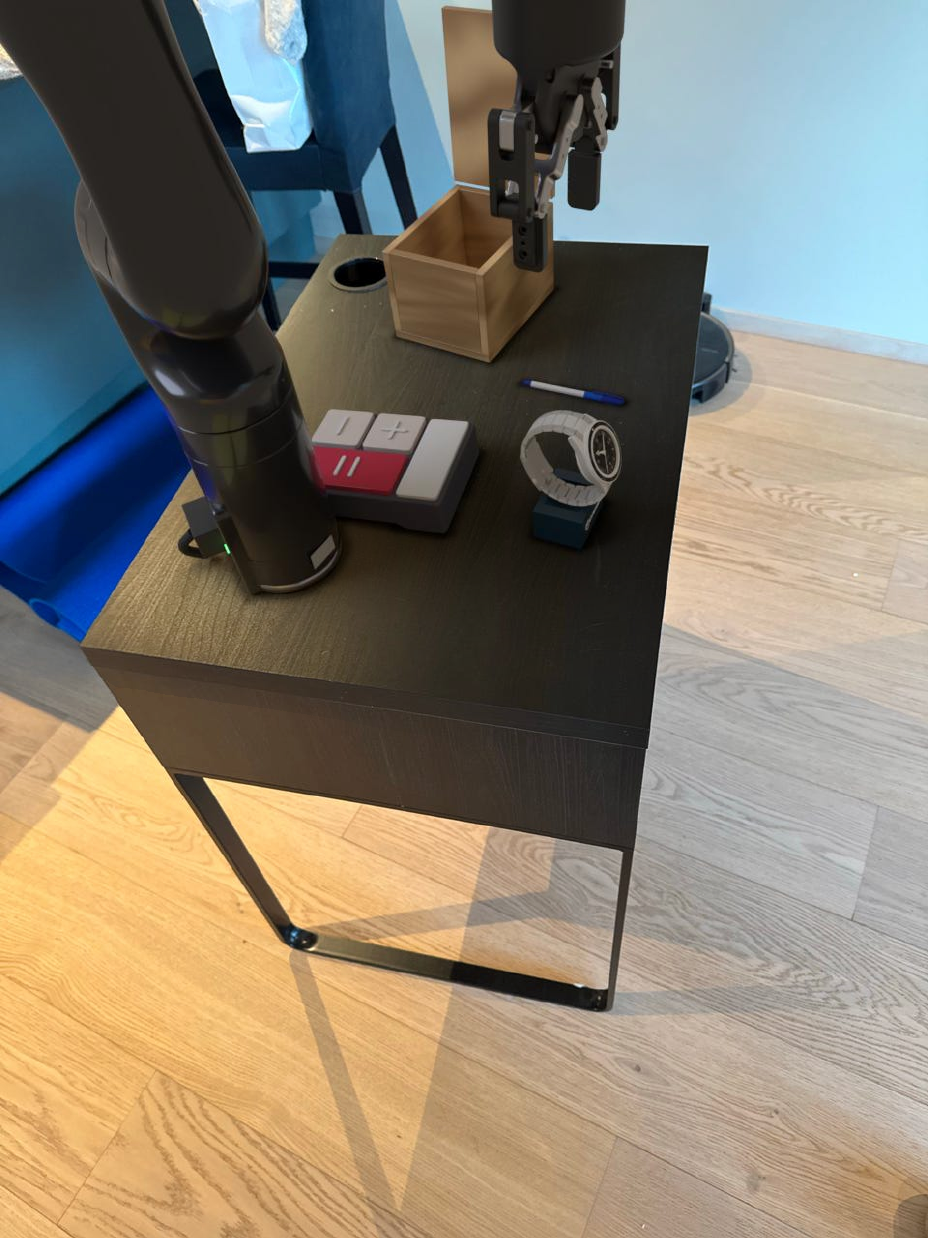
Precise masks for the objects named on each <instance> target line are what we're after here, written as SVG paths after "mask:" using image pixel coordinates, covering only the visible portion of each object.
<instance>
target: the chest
mask: <svg viewBox="0 0 928 1238" xmlns="http://www.w3.org/2000/svg"><path fill="white" fill-rule="evenodd" d="M546 213H547V214H548V264H547V266H546V267H545V268H544V269H543V270H542V271H541V272H539V273H537V272H532V271H527V270H522V269H519V268H517V267H516V266H515V264H514V260H513V236H512V220H510V219H505V218H497V217H493V216H491V213H490V191H489V189H486V188H485V189H484V188H481V187H480V188H479V187H474V186H469V185H463V184H458V183H456V184H455V185H453V186H452V187H451V188H450V190H448V191H447V192H446V193H445V194H443V195H442V197H440V198H439V199H438V200H437V201H436V202H435V203H434V204H433V205H432V206H431V207H429V208H428V209H427V210H426V211H425V212H424V213H422V214H421V216H419V217H418V218H417V219H416V220H415V221H414V222H413V223H411V224H410V225H409V226H408V227H406V229H405V230H404V231H403V232H402V233H400V234H399V235H398V236H397V237H396V238H395V239H394V240H392V242H390V243H389V244H388V245H387V246H386V247H385V248H383V250H382V251H381V253H382V254H381V255H382V260H383V267H384V271H385V278H386V284H387V290H388V295H389V300H390V306H391V311H392V317H393V324H394V328H395V335H396V337H397V338H400V339H403V340H407V341H411V342H414V343H417V344H422V345H424V346H429V347H432V348H435V349H440V350H443V351H447V352H450V353H454V354H458V355H461V356H464V357H467V358H471V359H475V360H479V361H481V362H486V363H489V364H490V363H491V362H492V361H493V360H494V359H495V357H496V356H497V355H498V354H499V353H500V352H501V351H502V349H503V348H505V346H506V345H507V344H508V343H509V341H510V340H511V339H512V338H513V337H514V336H515V334H516V333H517V332H518V331H519V330H520V329H521V328H522V327H523V325H525V323H526V322H527V321H528V320H529V318H530V317H532V315H533V314H534V313H535V312H536V310H537V309H538V308H539V307H540V306H541V305H542V303H543V302H544V301H545V300H546V299H547V298H548V297H549V295H551V293H552V292H553V291H554V289H555V284H554V283H555V282H554V280H555V278H554V275H555V274H554V273H555V272H554V271H555V270H554V269H555V267H554V266H555V265H554V202H553V201H549V202H548V207H547V211H546Z"/></svg>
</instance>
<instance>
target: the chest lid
mask: <svg viewBox="0 0 928 1238" xmlns="http://www.w3.org/2000/svg"><path fill="white" fill-rule="evenodd" d="M440 11H441V24H442V25H441V26H442V37H443V50H444V64H445V75H446V77H445V78H446V89H447V90H446V91H447V101H448V103H447V104H448V117H449V129H450V141H451V142H450V143H451V156H452V167H453V180H454V182H458V183H464V184H470V185H473V186H474V185H475V186H478V187H479V186H480V187H484V188H485V187H486V188H489V160H488V130H487V120H488V115H489V112H490V110H491V109H492V108H497V109H509V108H510V107H512V106H513V105H514V97H515V91H516V80H517V72H516V70H515V68H514V67H513V66H512V65H511V63H510V62H508V61H507V60H506V59H504V58H502V57H501V56H500V55H499V53H498V52H497V50H496V48H495V46H494V39H493V20H492V9H483V8H475V7H474V8H473V7H464V6H463V7H462V6H453V5H444V6H442V7H441V8H440ZM550 156H551V155H547V154H540V153H535V159H540V160H546V159H548V158H549V157H550ZM538 182H539V177H538V176H535V195H536V190H537V186H538ZM508 183H509V180H505V187H506V192H507V188H508ZM555 197H556V181H555V182H554V183H553V186H552V190H551V194H550V198H549V200H553V198H555Z"/></svg>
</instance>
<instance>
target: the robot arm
mask: <svg viewBox="0 0 928 1238" xmlns="http://www.w3.org/2000/svg"><path fill="white" fill-rule="evenodd" d="M626 4H627V0H491V10H492V20H493V39H494V46H495V48H496V50H497V52H498V53H499V55H500V56H501V57H502V58H504V59H506V60H507V61H508V62H510V63H511V65H512V66H513V67H514V68H515V70H516V72H517V80H516V91H515V97H514V105H513V106H512V107H510V108H509V109H497V108H492V109H491V110H490V112H489V115H488V120H487V130H488V160H489V187H488V188H489V189H488V190H489V191H490V213H491V216H493V217H497V218H505V219H510V220H512V236H513V260H514V264H515V266H516V267H517V268H519V269H522V270H527V271H532V272H537V273H539V272H541V271H542V270H543V269H544V268H545V267H546V266H547V264H548V214H547V213H546V211H547V207H548V202H550V199H549V198H550V194H551V190H552V186H553V183H554V182H555V183H556V181H558V180H560V179H561V178H562V176H563V175H564V171H565V168H566V164H567V192H566V193H567V194H566V196H567V199H566V201H567V204H568V206H569V207H571V208H572V209H578V210H583V211H589V212H592V211H594V210H595V209H596V208H597V207H598V206H599V204H600V201H601V181H602V180H601V179H602V157H603V156H602V153H604V151H606V149H607V145H608V142H609V139H608V137H609V133H608V131H615V130H616V129H617V126H618V123H619V117H620V116H619V114H620V86H621V84H620V82H621V58H622V57H621V55H622V54H621V52H622V41H623V38H624V34H625V23H626ZM0 46H1V47H2V48H3V50H4V51H5V53H6V55H8V57H9V58H10V60H11V61H12V62H13V64H14V65H15V67H17V69H18V70H19V72H20V73H21V74H22V76H23V77H24V79H25V81H26V82H27V83H28V84H29V86H30V88H31V89H32V90H33V92H34V94H35V95H36V97H37V98H38V100H39V101H40V102H41V104H42V106H43V108H45V111H46V112H47V114H48V116H49V118H50V119H51V121H52V122H53V124H54V126H55V128H56V130H57V131H58V133H59V135H60V137H61V139H62V141H63V143H64V145H65V147H66V148H67V149H66V150H67V152H69V155H70V156H71V159H72V161H73V163H74V165H75V168H76V170H77V172H78V174H79V176H80V181H79V182H78V185H77V189H76V193H75V199H74V208H73V209H74V211H73V212H74V213H73V215H74V224H75V231H76V234H77V239H78V243H79V245H80V248H81V251H82V254H83V256H84V259H85V261H86V263H87V265H88V268H89V270H90V272H91V274H92V276H93V279H94V280H95V283H96V285H97V286H98V289H99V290H100V294H102V297H103V299H104V302H106V305H107V307H108V310H109V311H110V313H111V314H112V317H113V319H114V321H115V322H116V325H117V327H118V329H119V331H120V333H121V335H122V337H123V339H124V341H125V343H126V345H127V348H128V349H129V352H130V353H131V355H132V357H133V359H134V361H135V362H136V364H137V366H138V368H139V370H140V371H141V373H142V374H143V376H144V377H145V379H146V381H147V382H148V383H149V385H150V386H151V388H152V389H153V391H154V392H155V394H156V396H157V398H158V399H159V402H160V403H161V406H162V408H163V410H164V412H165V414H166V417H168V420H169V422H170V425H171V426H172V429H173V430H174V433H175V435H176V437H177V439H178V441H179V443H180V445H181V448H182V450H183V452H184V454H185V456H186V458H187V461H188V463H189V465H190V467H191V469H192V471H193V474H194V476H195V478H196V480H197V483H198V485H199V487H200V489H201V491H202V493H203V496H201V497H199V498H195V499H193V500H190V501H187V502H185V503H183V504H181V508H182V511H183V514H184V516H185V519H186V522H187V525H188V529H187V530H186V531H185V533H183V535H182V536H180V538H179V539H178V541H177V549H178V551H179V552H180V553H181V554H182V555H184V556H186V557H190V558H195V559H201V560H207V559H210V558H213V557H215V556H218V555H220V554H223V553H225V552H227V554H230V557H231V558H232V561H233V563H234V565H235V567H236V569H237V571H238V574H239V575H240V578H241V580H242V582H243V584H244V586H245V588H246V591H247V593H248V594H249V595H251V596H252V595H254V594H257V593H260V592H266V593H272V594H273V593H275V594H282V593H284V594H285V593H290V592H295V591H299V590H302V589H305V588H309V587H310V586H312V585H314V584H316V583H318V582H319V581H321V580H322V579H324V578H325V577H326V576H327V575H329V573H330V572H331V571H332V570H333V569H334V567H335V566H336V565H337V563H338V561H339V560H340V557H341V555H342V551H343V537H342V534H341V531H340V528H339V525H338V523H337V520H336V516H334V515H333V512H332V508H331V505H330V502H329V498H328V495H327V492H326V488H325V485H324V482H323V479H322V475H321V472H320V469H319V465H318V462H317V459H316V456H315V452H314V449H313V446H312V442H311V439H312V438H311V437H310V436H311V435H310V433H309V429H308V426H307V423H306V420H305V416H304V413H303V410H302V406H301V403H300V400H299V397H298V394H297V390H296V386H295V384H294V383H295V382H294V381H293V376H292V373H291V370H290V368H289V364H288V361H287V358H286V355H285V352H284V349H283V347H282V345H281V343H280V341H279V339H278V338H277V336H276V335H275V333H274V331H273V330H272V329H271V327H270V326H269V324H268V323H267V321H266V320H265V318H264V316H263V315H262V313H261V311H260V310H259V308H260V306H261V304H262V303H263V299H264V295H265V293H266V289H267V284H268V277H269V252H268V246H267V241H266V235H265V232H264V229H263V226H262V223H261V220H260V219H259V216H258V214H257V211H256V210H255V207H254V206H253V203H252V201H251V199H250V197H249V195H248V193H247V191H246V189H245V187H244V185H243V183H242V181H241V179H240V177H239V175H238V172H237V171H236V169H235V167H234V164H233V162H232V161H231V158H230V157H229V154H228V153H227V151H226V148H225V146H224V144H223V142H222V140H221V138H220V135H219V134H218V132H217V130H216V127H215V125H214V123H213V121H212V119H211V117H210V115H209V113H208V111H207V109H206V107H205V105H204V103H203V100H202V98H201V96H200V93H199V91H198V90H197V89H198V88H197V86H196V84H195V82H194V80H193V78H192V75H191V73H190V70H189V68H188V65H187V62H186V60H185V58H184V55H183V53H182V51H181V47H180V45H179V42H178V39H177V36H176V34H175V30H174V28H173V25H172V23H171V20H170V16H169V13H168V9H167V6H166V4H165V1H164V0H0ZM602 94H603V95H604V96H605V102H604V99H603V95H602ZM570 148H571V149H570ZM535 153H540V154H547V155H551V156H550V157H549V158H548V159H546V160H540V159H535ZM535 176H538V177H539V182H538V186H537V190H536V195H535ZM505 180H509V183H508V188H507V191H506V187H505ZM193 541H194V542H195V544H196V545H197V546H193V545H190V544H191V543H192V542H193Z"/></svg>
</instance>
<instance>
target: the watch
mask: <svg viewBox="0 0 928 1238" xmlns="http://www.w3.org/2000/svg"><path fill="white" fill-rule="evenodd" d="M543 432H544V433H547V432H548V433H549V432H550V433H551V432H554V433H560V434H562V433H563V434H564V435H567V436H569V437H568V438H567V440H568V443H569V444H570V446H571V447H572V449H573V450H574V454H575V458H576V465H577V466H578V469H579V472H575V471H571V470H566V469H562V468H558V467H556V468H555V470H554V468H553V467H552V466H551V465H550V463H549V461H548V460H547V459H546V457H545V455H544V453H543V451H542V449H541V446H540V444H539V442H538V441H537V440H536V439H537V438H536V435H538V434H542V433H543ZM519 459H520V461H521V464H522V466H523V468H524V470H525V473H526V475H527V476H528V478H529V479H530V480H531V482H532V484H533V485H534V486H535V487H536V488H537V490H538V491H539V492H541V491H542V494H541V495H540V497H539V499H538V501H537V503H536V504H535V506H534V507H533V510H532V519H533V520H532V524H533V525H532V527H533V528H532V529H533V537H534V538H538V539H542V540H545V541H548V542H553V543H556V544H559V545H564V546H568V547H571V548H575V549H579V550H582V549H583V547H584V545H585V543H586V541H587V538H588V537H589V535H590V533H591V531H592V528H593V526H594V524H595V522H596V520H597V518H598V516H599V513H600V511H601V510H602V507H603V505H604V498H605V497H606V495H607V494H608V492H609V490H610V487H611V486H612V484H613V482H615V481H616V480H617V479H618V477H619V475H620V472H621V469H622V449H621V444H620V440H619V438H618V436H617V434H616V432H615V430H614V428H613V427H612V426H611V425H610V424H609V423H608V422H607V421H605V420H601V419H600V420H598V419H596V418H595V417H593V416H592V415H589V414H588V413H580V412H577V411H573V410H564V409H563V410H561V409H560V410H552V411H548V412H546V413H544V414H542V415H540V416H539V417H538V418H536V420H535V421H533V423H532V425H531V426H530V428H529V430H528V431H527V433H526V435H525V437H523V439H522V442H521V445H520V455H519Z"/></svg>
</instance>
